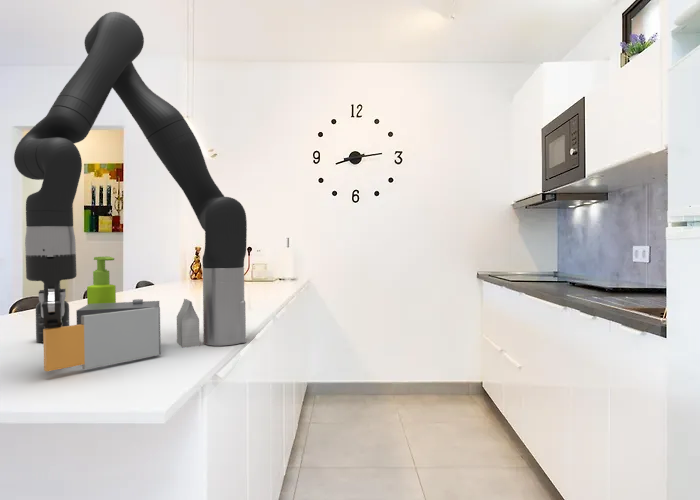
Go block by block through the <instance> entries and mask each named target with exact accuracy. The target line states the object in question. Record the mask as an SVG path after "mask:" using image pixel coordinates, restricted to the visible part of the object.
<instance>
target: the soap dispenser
mask: <svg viewBox="0 0 700 500" xmlns="http://www.w3.org/2000/svg"><path fill="white" fill-rule="evenodd" d="M93 260H94V261H96V269H95V270H93V271H92V275H93V276H92V279H93V281H92V282H93V283H92V284H91V285H88V286H87V290H86V292H87V293H86V295H87V297H86V298H87V302H86V303H87V304H86V305H88V304H95V303H117V302H116V300H117V297H116V293H117V292H116V291H117V288H116V287H117V286H116V285H115V284H110V282H111V281H110V270H108V269H107V268H106V261H115V258H114V257H112V256H107V255H105V256H94V257H93Z"/></svg>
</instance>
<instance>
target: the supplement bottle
mask: <svg viewBox="0 0 700 500" xmlns="http://www.w3.org/2000/svg"><path fill="white" fill-rule="evenodd" d="M64 308H65V312H64V315H63V316H62V318H63V320H62V323H63V325H62V327H64V326H70V305H69V302H68V301H66V300H64ZM43 324H44V318H42V317H41V302H40V301H39V302H38V303H37V304H36V306H35V340H36V342H37V343H39V344H40V343H41V344H44V343H43V329H45V328H44V326H43Z"/></svg>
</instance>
